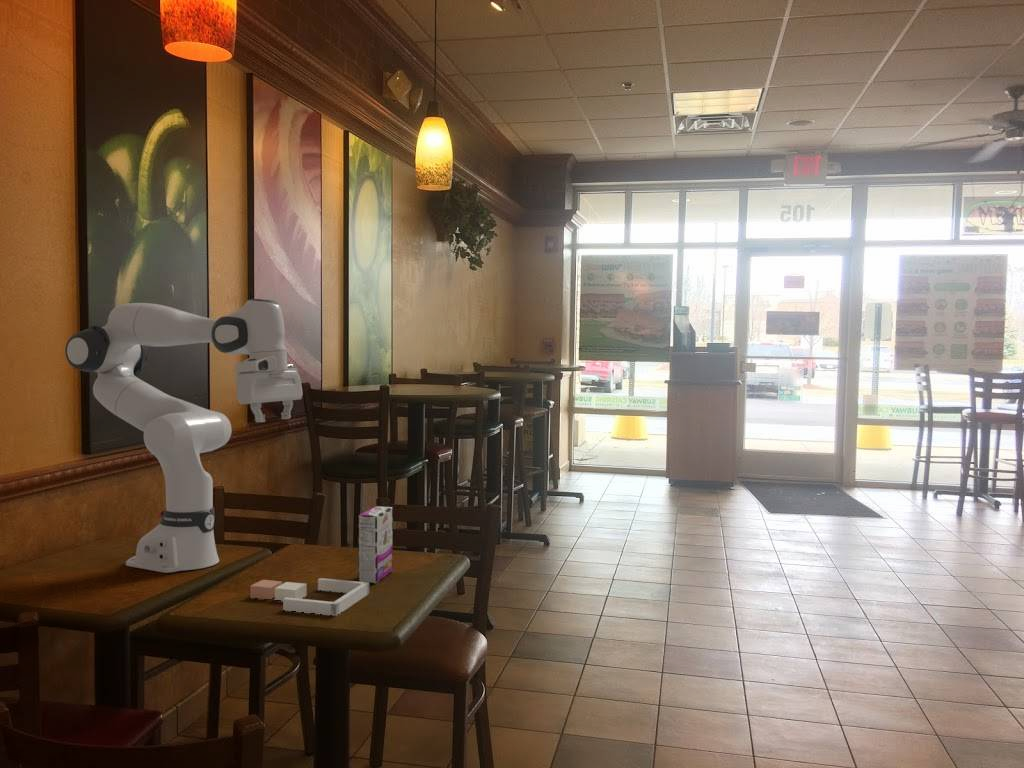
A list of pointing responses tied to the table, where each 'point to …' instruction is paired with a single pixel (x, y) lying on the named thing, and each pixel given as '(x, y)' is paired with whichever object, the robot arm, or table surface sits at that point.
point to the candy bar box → (375, 544)
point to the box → (324, 607)
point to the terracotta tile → (264, 589)
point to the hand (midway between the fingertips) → (273, 420)
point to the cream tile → (290, 590)
